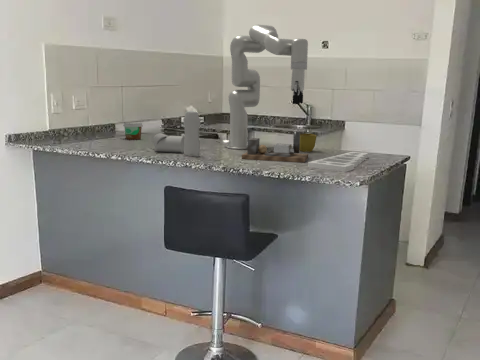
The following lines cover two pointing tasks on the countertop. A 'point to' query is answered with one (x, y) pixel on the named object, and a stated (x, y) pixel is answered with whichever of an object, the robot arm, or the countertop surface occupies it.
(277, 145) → the ram
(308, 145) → the flower pot
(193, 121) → the tall pale column
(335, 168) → the holder
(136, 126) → the food container
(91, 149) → the countertop surface
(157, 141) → the bent grey cylinder
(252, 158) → the press base
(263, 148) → the nut
